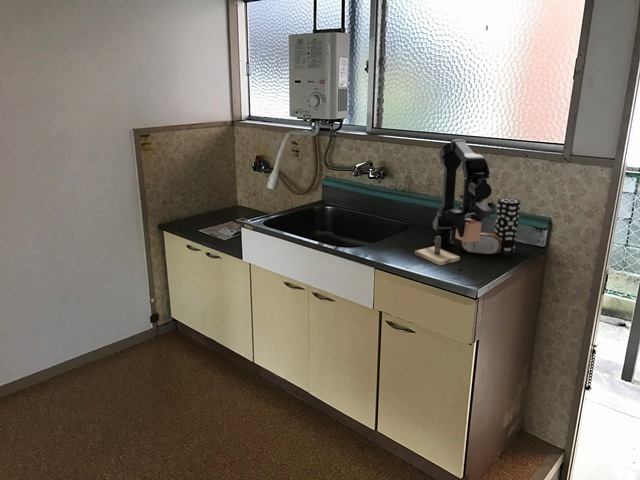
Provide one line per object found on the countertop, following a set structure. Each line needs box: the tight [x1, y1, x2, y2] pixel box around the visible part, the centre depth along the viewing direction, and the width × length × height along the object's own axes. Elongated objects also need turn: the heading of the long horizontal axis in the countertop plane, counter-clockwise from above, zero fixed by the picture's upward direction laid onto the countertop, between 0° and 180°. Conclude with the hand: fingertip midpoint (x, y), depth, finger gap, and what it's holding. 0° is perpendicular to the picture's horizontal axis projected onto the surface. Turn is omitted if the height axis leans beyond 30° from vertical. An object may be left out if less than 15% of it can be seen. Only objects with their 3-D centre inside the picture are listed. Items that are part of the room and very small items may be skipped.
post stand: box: [414, 236, 461, 266], centre depth 197 cm, size 10×14×9 cm
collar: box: [454, 218, 483, 243], centre depth 185 cm, size 6×6×6 cm
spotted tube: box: [493, 197, 522, 253], centre depth 204 cm, size 8×8×20 cm
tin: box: [460, 231, 501, 255], centre depth 202 cm, size 15×3×8 cm, turn 70°
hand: (467, 235), depth 186 cm, fingers closed on collar, 6 cm apart
